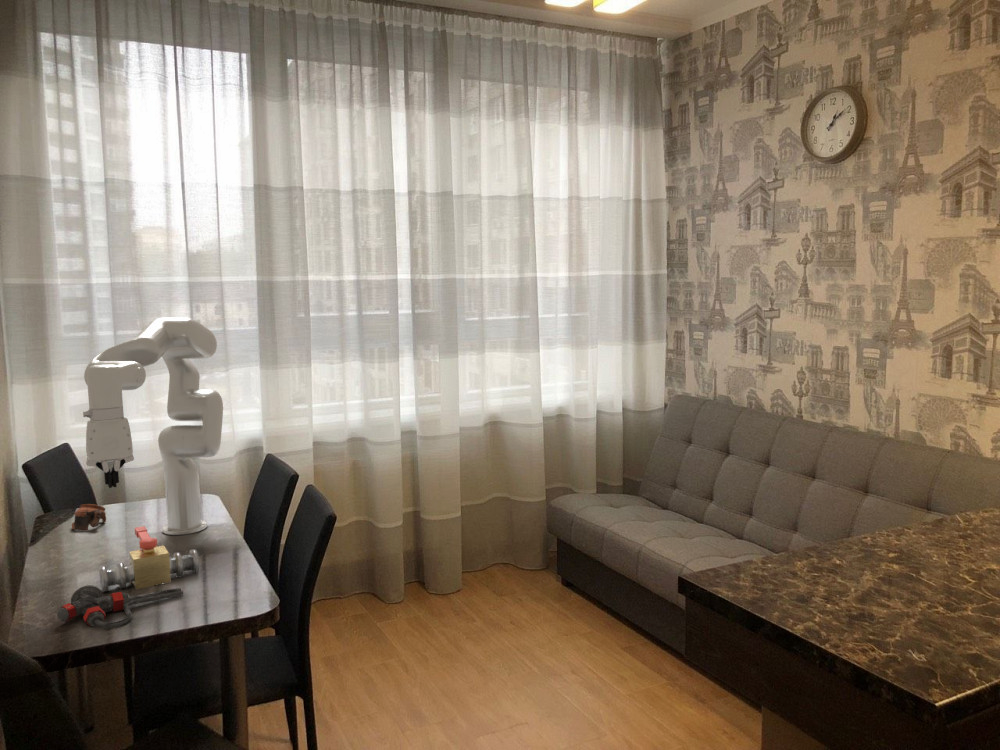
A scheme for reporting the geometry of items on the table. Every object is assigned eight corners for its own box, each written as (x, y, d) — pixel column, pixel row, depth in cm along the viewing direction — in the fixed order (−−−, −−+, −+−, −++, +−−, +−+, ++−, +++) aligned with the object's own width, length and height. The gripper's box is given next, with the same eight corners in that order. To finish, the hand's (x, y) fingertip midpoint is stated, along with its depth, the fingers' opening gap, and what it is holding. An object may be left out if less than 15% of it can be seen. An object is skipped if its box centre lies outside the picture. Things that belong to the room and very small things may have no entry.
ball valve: (100, 587, 193) (97, 552, 192) (194, 568, 205) (192, 535, 204) (103, 596, 188) (100, 560, 187) (200, 576, 199) (198, 542, 198)
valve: (64, 650, 165) (53, 616, 176) (193, 622, 180) (175, 593, 192) (64, 622, 163) (53, 590, 175) (194, 596, 179) (175, 568, 190)
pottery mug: (63, 531, 242) (70, 504, 245) (93, 537, 248) (100, 511, 252) (83, 527, 235) (90, 499, 238) (113, 533, 242) (120, 507, 245)
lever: (131, 534, 206) (131, 528, 205) (148, 531, 208) (147, 525, 208) (141, 550, 193) (140, 544, 192) (158, 547, 195) (158, 540, 195)
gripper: (74, 419, 190) (80, 494, 192) (141, 413, 198) (146, 485, 200) (71, 415, 196) (77, 488, 198) (137, 409, 204) (142, 479, 206)
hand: (112, 486), depth 199 cm, fingers closed
